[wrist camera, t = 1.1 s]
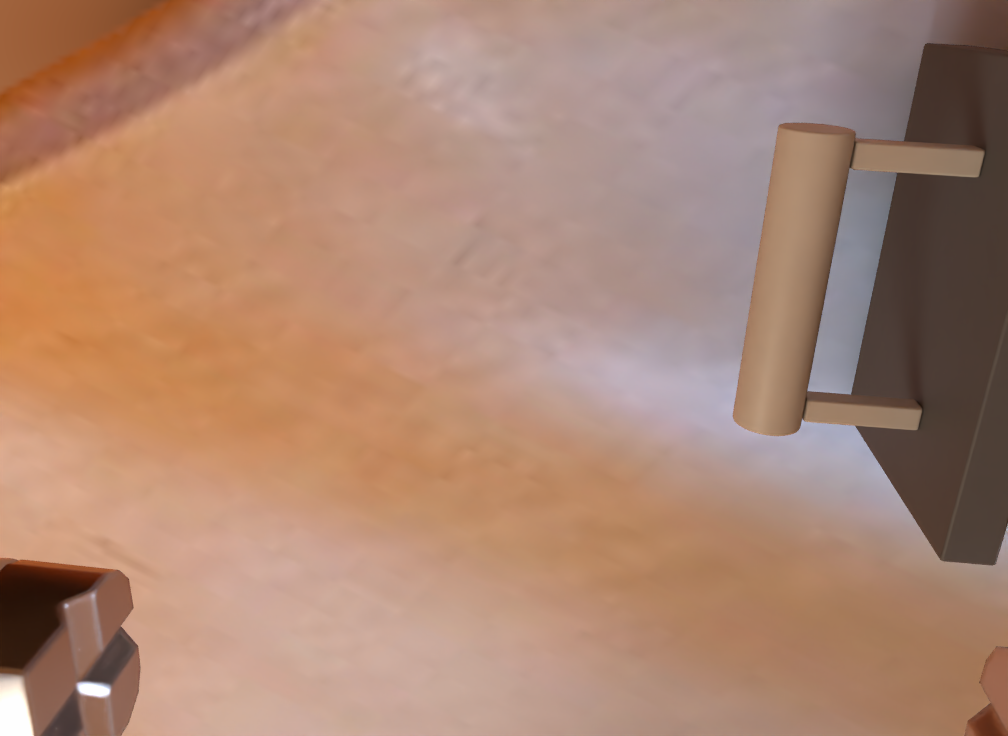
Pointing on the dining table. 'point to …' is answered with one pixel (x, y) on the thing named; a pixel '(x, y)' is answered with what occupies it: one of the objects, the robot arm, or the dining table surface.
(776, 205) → the drawer
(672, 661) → the dining table surface
